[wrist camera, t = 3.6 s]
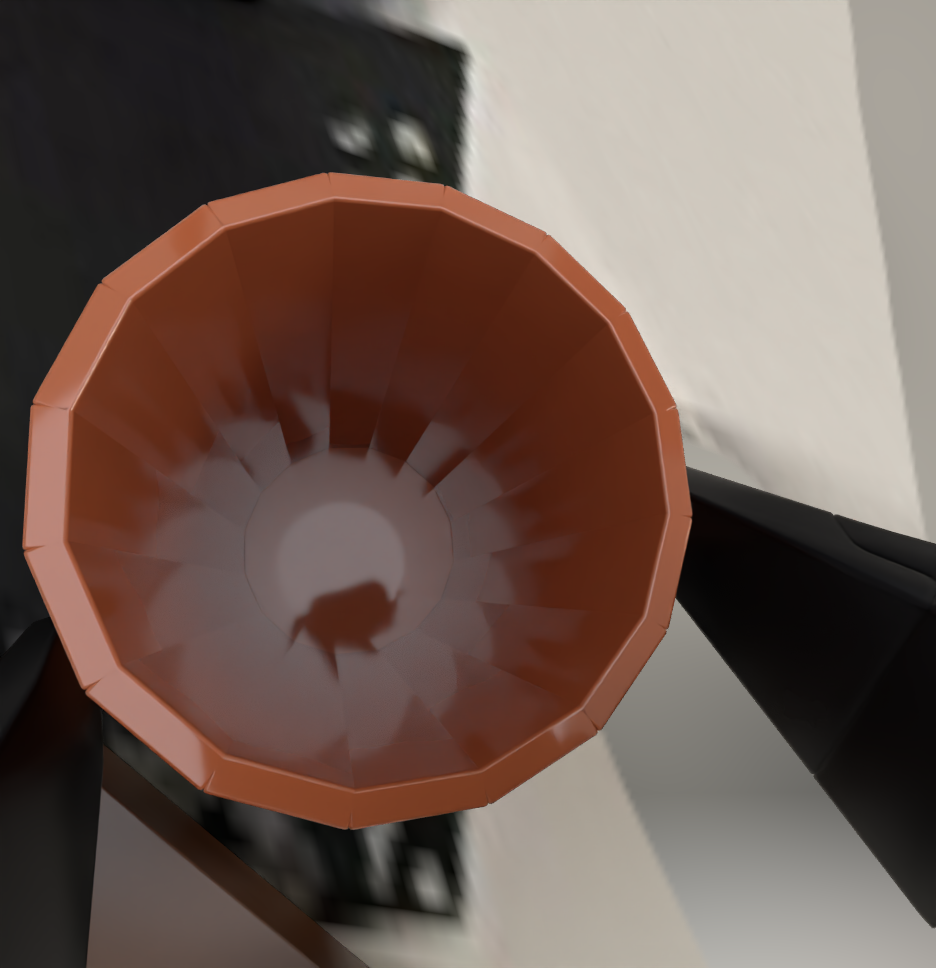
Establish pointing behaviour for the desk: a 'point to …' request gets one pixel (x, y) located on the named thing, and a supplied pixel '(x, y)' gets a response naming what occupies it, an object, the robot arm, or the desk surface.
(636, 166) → the desk surface
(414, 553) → the pen cup
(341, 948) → the board
